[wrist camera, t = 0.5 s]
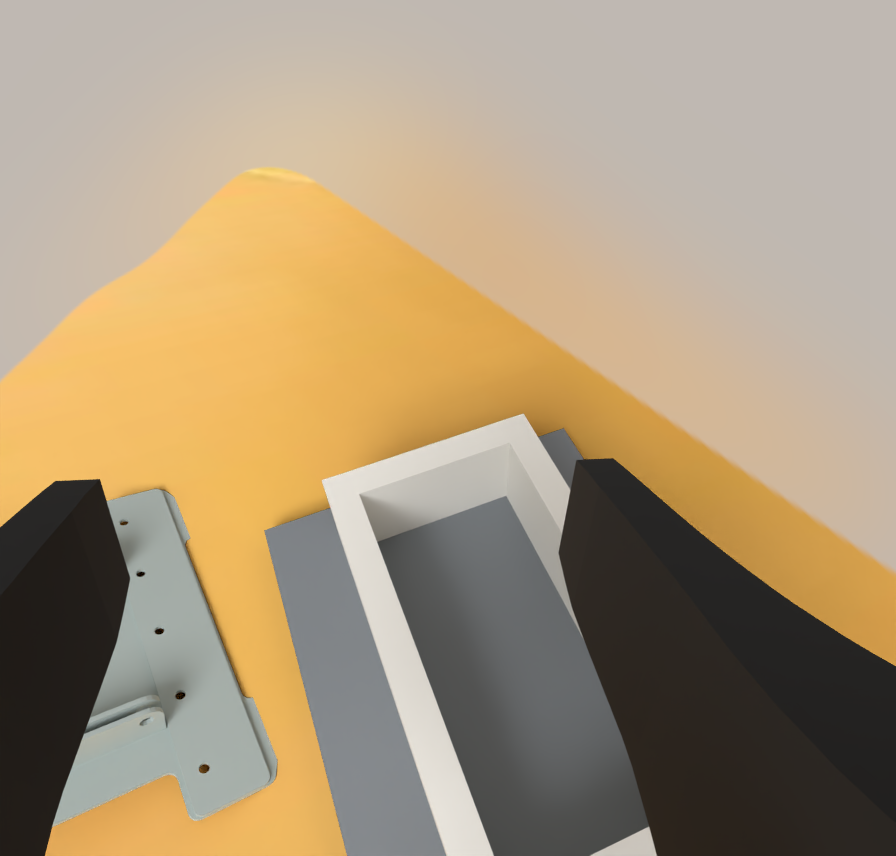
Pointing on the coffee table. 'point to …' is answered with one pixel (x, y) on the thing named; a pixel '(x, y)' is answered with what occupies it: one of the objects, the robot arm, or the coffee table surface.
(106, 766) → the metal bracket
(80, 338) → the coffee table surface
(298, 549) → the well
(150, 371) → the coffee table surface
